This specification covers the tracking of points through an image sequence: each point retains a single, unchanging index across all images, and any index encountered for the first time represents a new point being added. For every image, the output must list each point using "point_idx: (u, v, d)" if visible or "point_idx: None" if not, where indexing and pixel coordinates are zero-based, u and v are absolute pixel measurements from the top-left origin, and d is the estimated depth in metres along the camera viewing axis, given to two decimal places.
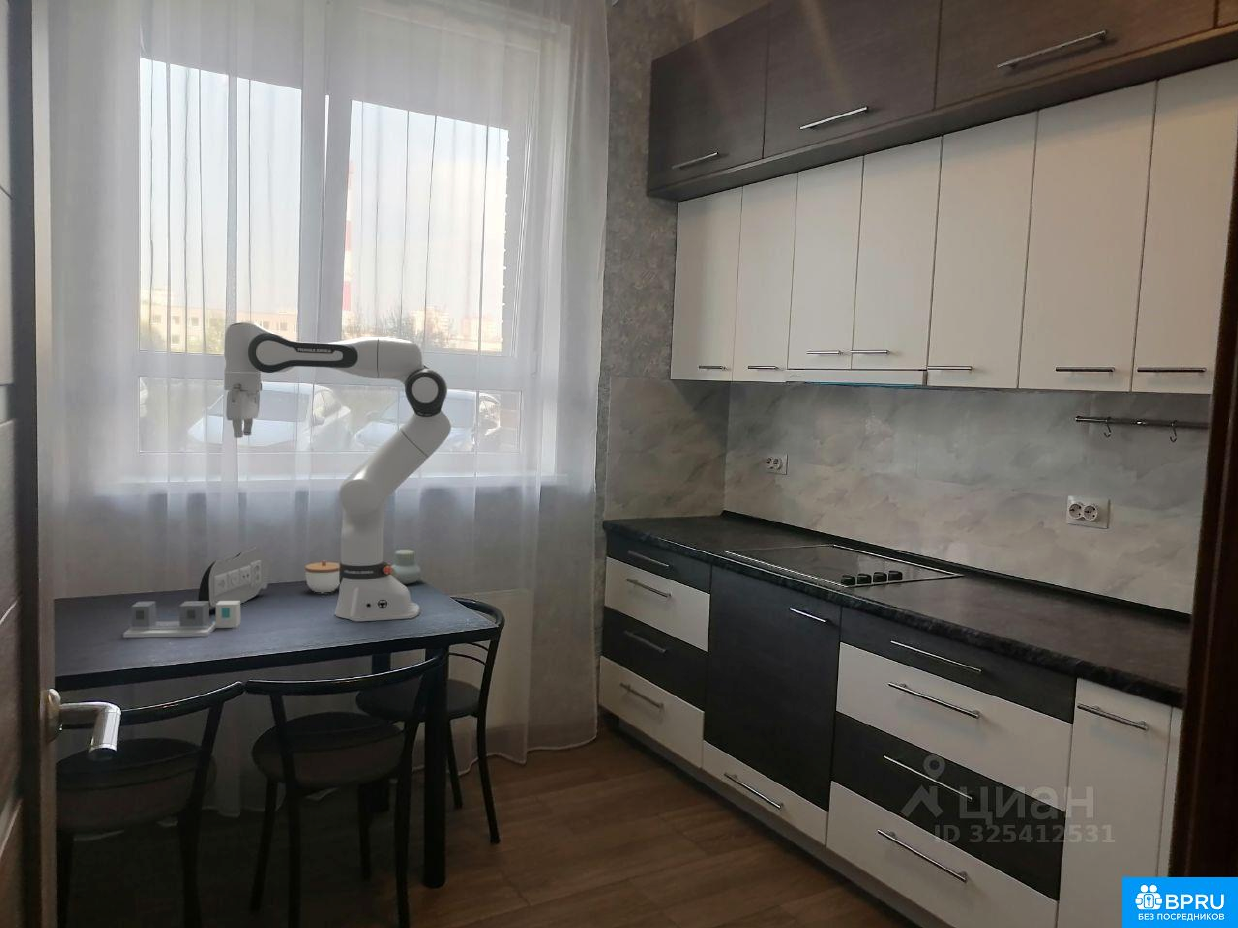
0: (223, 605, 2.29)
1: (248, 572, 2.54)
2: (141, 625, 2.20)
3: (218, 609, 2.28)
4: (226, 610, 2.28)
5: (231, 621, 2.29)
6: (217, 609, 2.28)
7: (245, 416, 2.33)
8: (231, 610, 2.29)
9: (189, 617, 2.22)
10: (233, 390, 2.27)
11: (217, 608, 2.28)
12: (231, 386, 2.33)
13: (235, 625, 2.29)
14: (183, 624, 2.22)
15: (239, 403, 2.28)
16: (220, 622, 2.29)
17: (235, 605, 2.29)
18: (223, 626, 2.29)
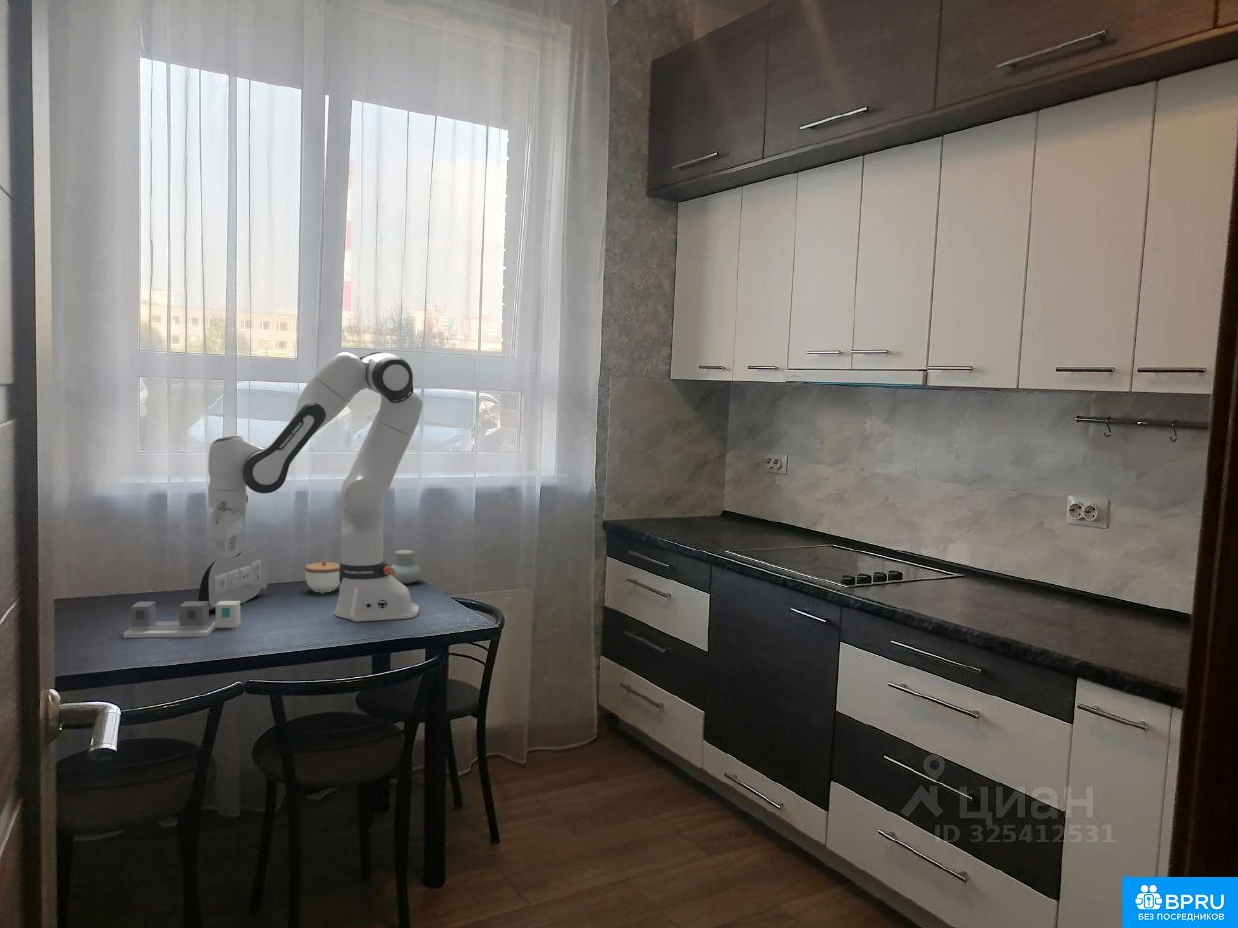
0: (223, 605, 2.29)
1: (248, 572, 2.54)
2: (141, 625, 2.20)
3: (219, 609, 2.28)
4: (226, 610, 2.28)
5: (231, 621, 2.29)
6: (217, 609, 2.28)
7: (229, 535, 2.24)
8: (231, 610, 2.29)
9: (189, 617, 2.22)
10: (217, 511, 2.18)
11: (217, 608, 2.28)
12: (215, 504, 2.24)
13: (235, 625, 2.29)
14: (183, 624, 2.22)
15: (223, 524, 2.19)
16: (220, 622, 2.29)
17: (235, 605, 2.29)
18: (223, 626, 2.29)
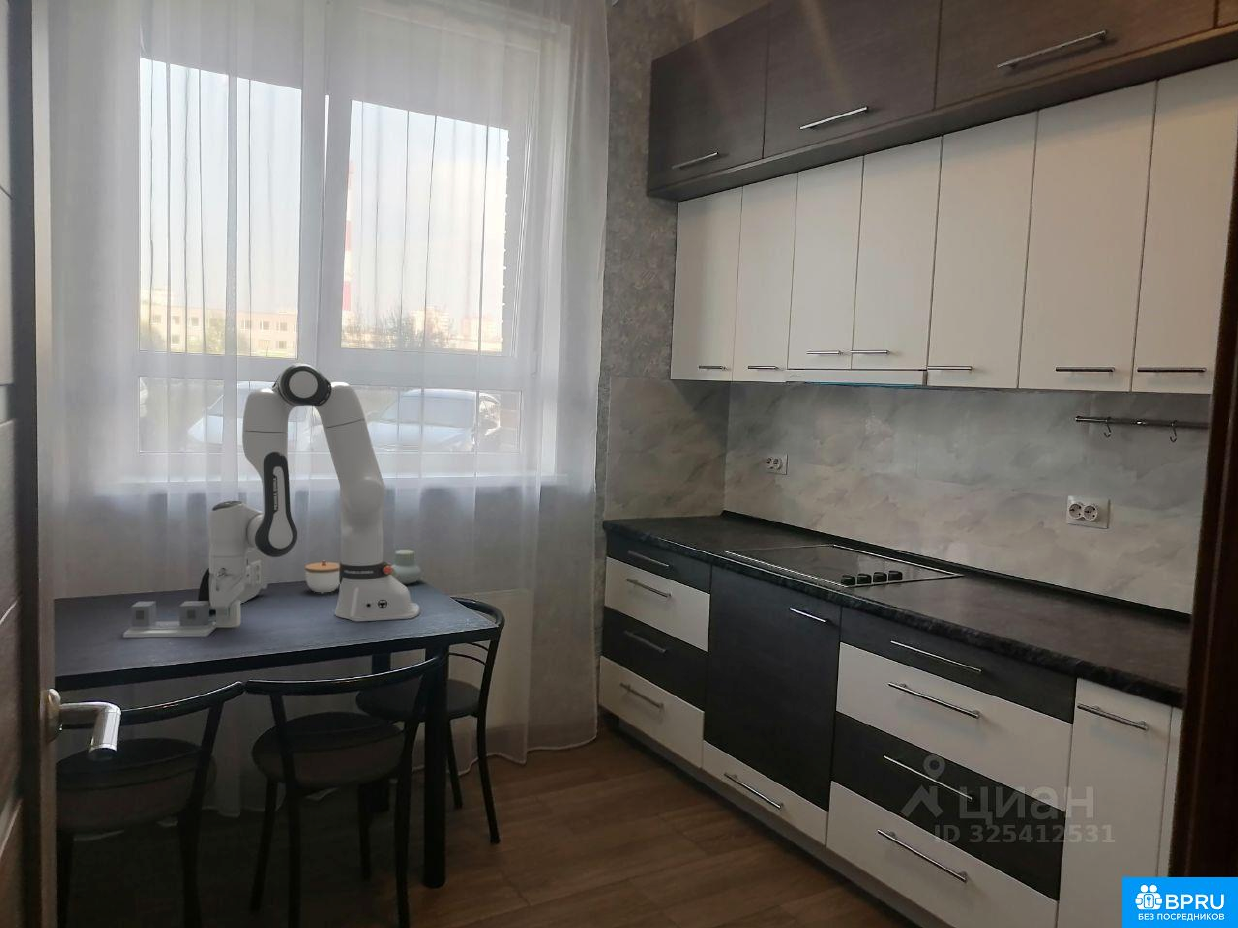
0: None
1: (248, 572, 2.54)
2: (141, 625, 2.20)
3: None
4: None
5: (231, 621, 2.29)
6: (217, 609, 2.28)
7: (230, 601, 2.25)
8: (231, 609, 2.29)
9: (189, 617, 2.22)
10: (217, 579, 2.20)
11: None
12: (215, 570, 2.25)
13: (235, 625, 2.30)
14: (183, 624, 2.22)
15: (223, 592, 2.21)
16: (220, 622, 2.29)
17: (235, 605, 2.29)
18: (223, 626, 2.29)
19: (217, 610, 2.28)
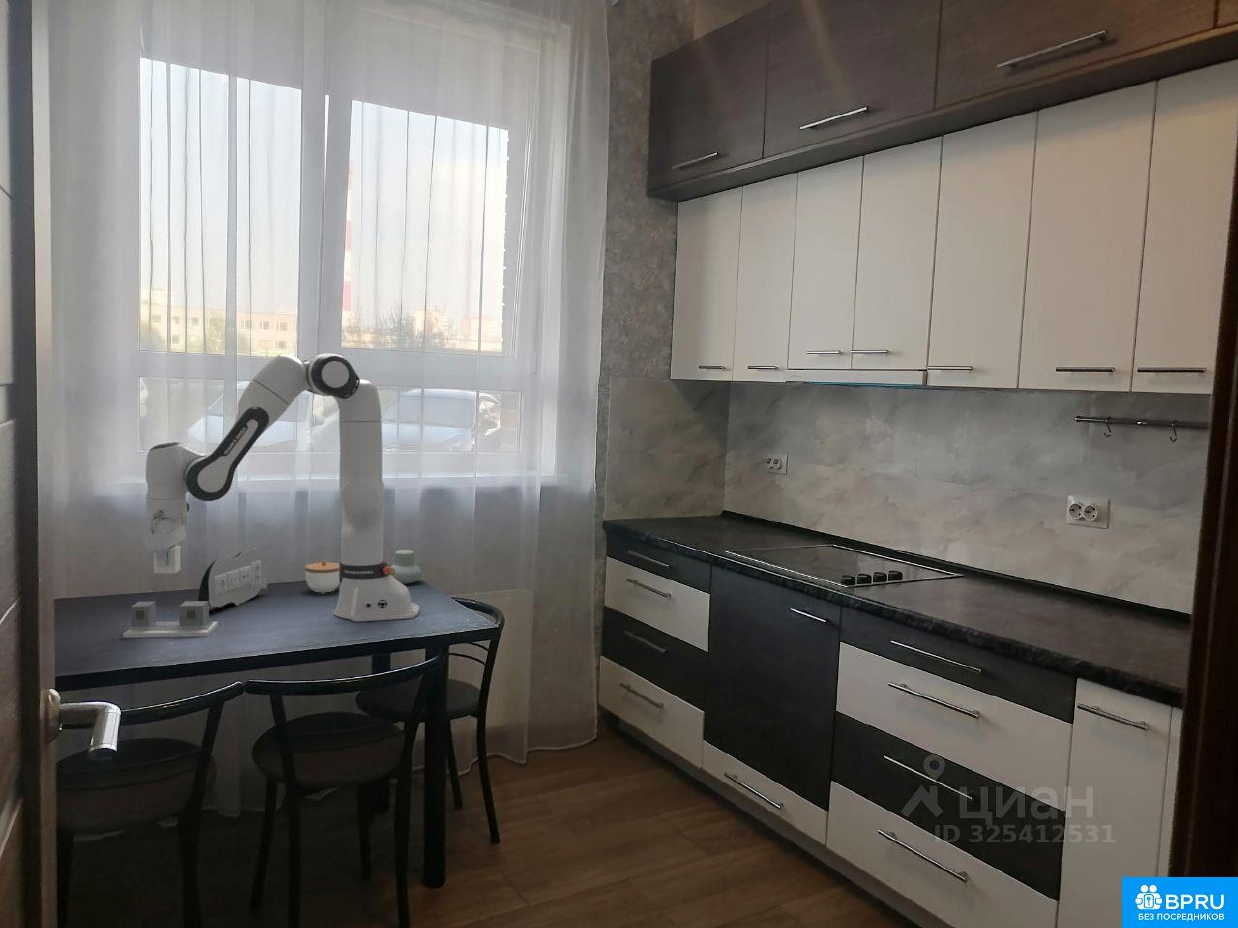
0: None
1: (248, 572, 2.54)
2: (141, 625, 2.20)
3: None
4: None
5: (169, 566, 2.21)
6: (155, 554, 2.20)
7: (167, 545, 2.17)
8: (169, 555, 2.21)
9: (189, 617, 2.22)
10: (152, 521, 2.11)
11: (155, 553, 2.20)
12: (152, 513, 2.17)
13: (174, 570, 2.21)
14: (183, 624, 2.22)
15: (159, 534, 2.12)
16: (158, 567, 2.20)
17: (174, 550, 2.21)
18: (161, 571, 2.21)
19: (155, 555, 2.20)
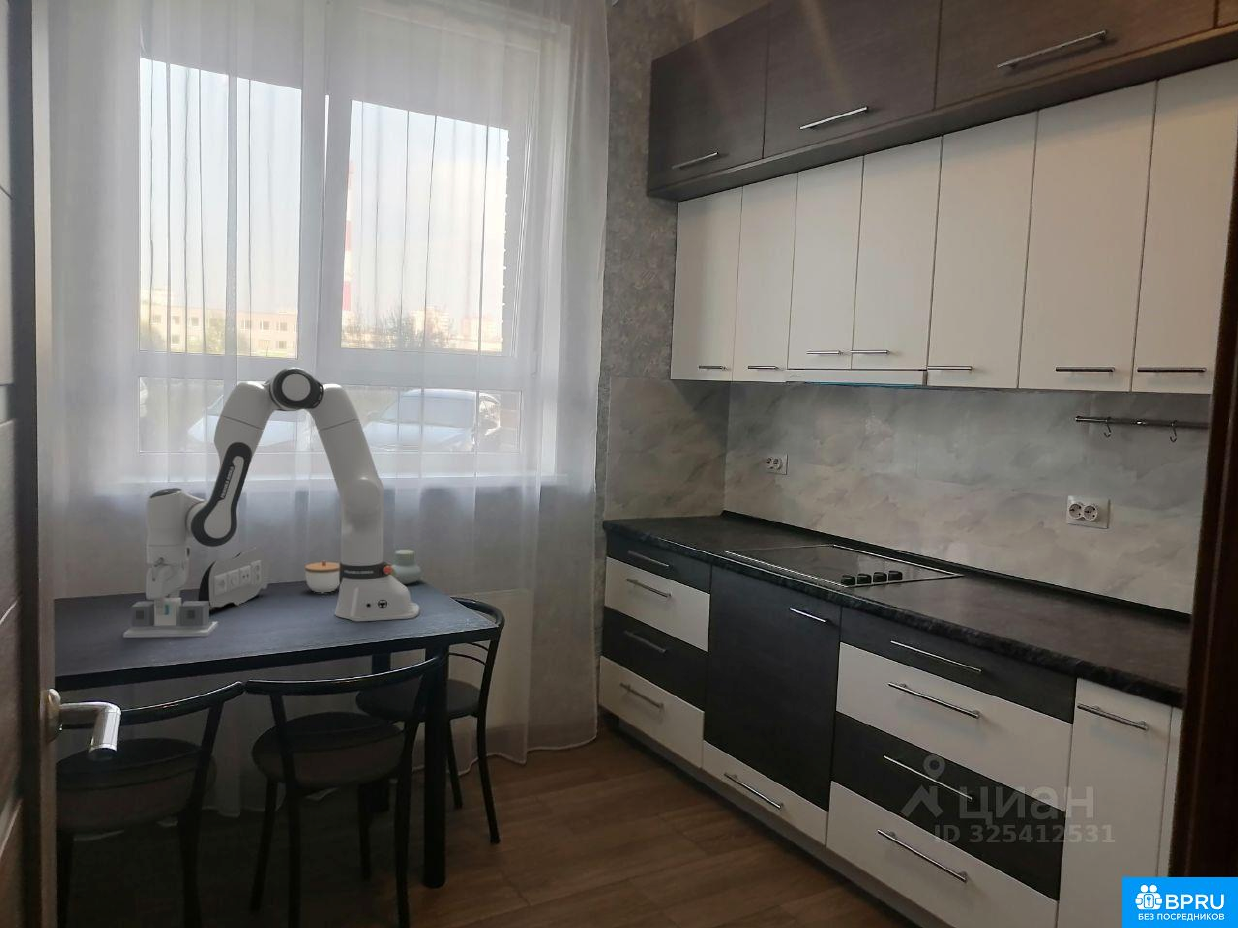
0: None
1: (248, 572, 2.54)
2: (141, 625, 2.20)
3: None
4: None
5: (170, 619, 2.22)
6: None
7: (168, 592, 2.18)
8: (170, 607, 2.22)
9: (189, 617, 2.22)
10: (153, 569, 2.12)
11: None
12: (153, 560, 2.18)
13: (174, 623, 2.22)
14: (183, 624, 2.22)
15: (160, 582, 2.13)
16: (159, 620, 2.22)
17: (174, 602, 2.22)
18: (162, 624, 2.22)
19: (155, 608, 2.21)
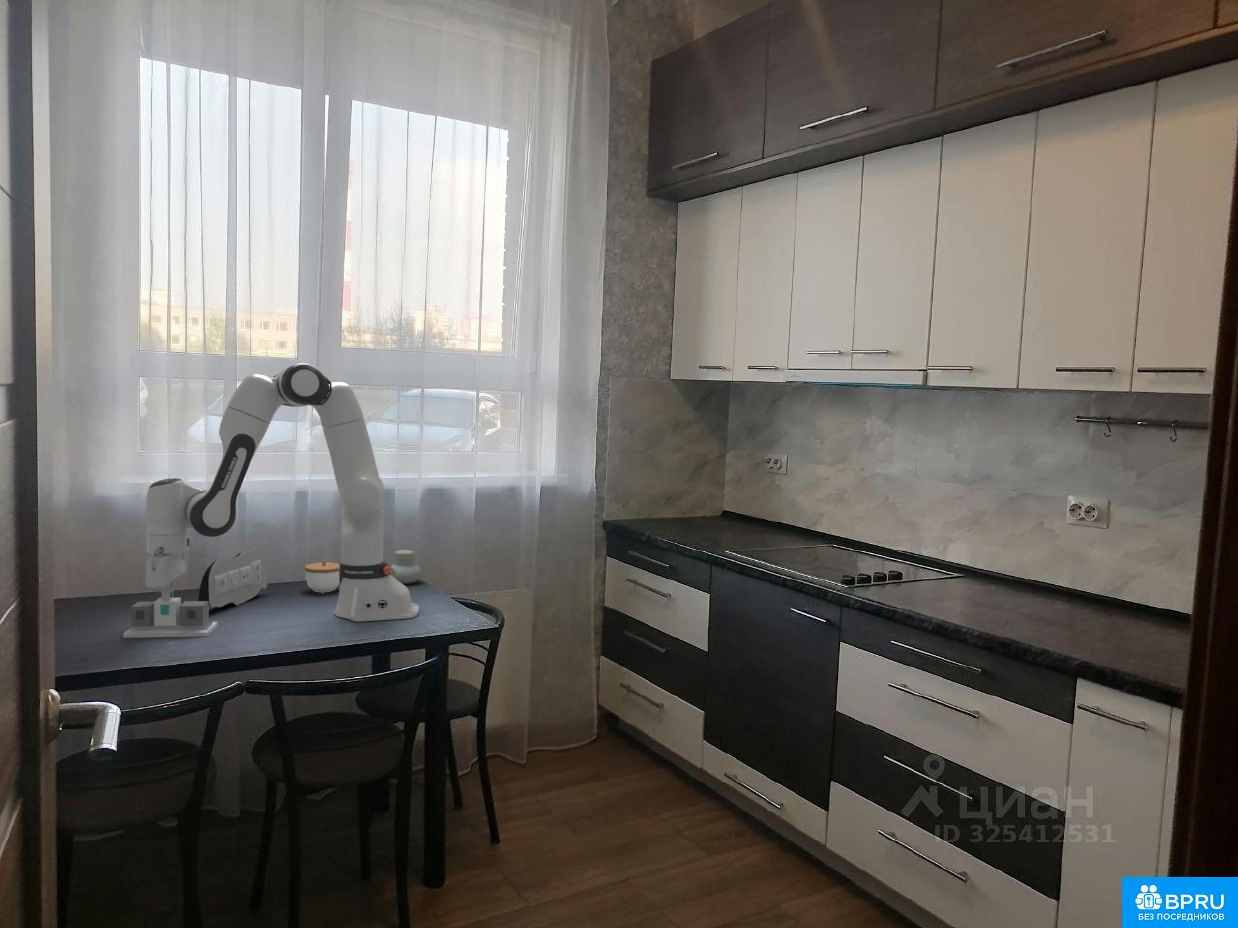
0: (162, 602, 2.21)
1: (248, 572, 2.54)
2: (141, 625, 2.20)
3: (157, 606, 2.21)
4: (165, 607, 2.21)
5: (170, 619, 2.22)
6: (156, 606, 2.21)
7: (168, 582, 2.18)
8: (170, 607, 2.22)
9: (189, 617, 2.22)
10: (153, 558, 2.12)
11: (156, 605, 2.21)
12: (153, 550, 2.18)
13: (174, 623, 2.22)
14: (183, 624, 2.22)
15: (160, 571, 2.13)
16: (159, 620, 2.22)
17: (174, 602, 2.22)
18: (162, 624, 2.22)
19: (155, 608, 2.21)
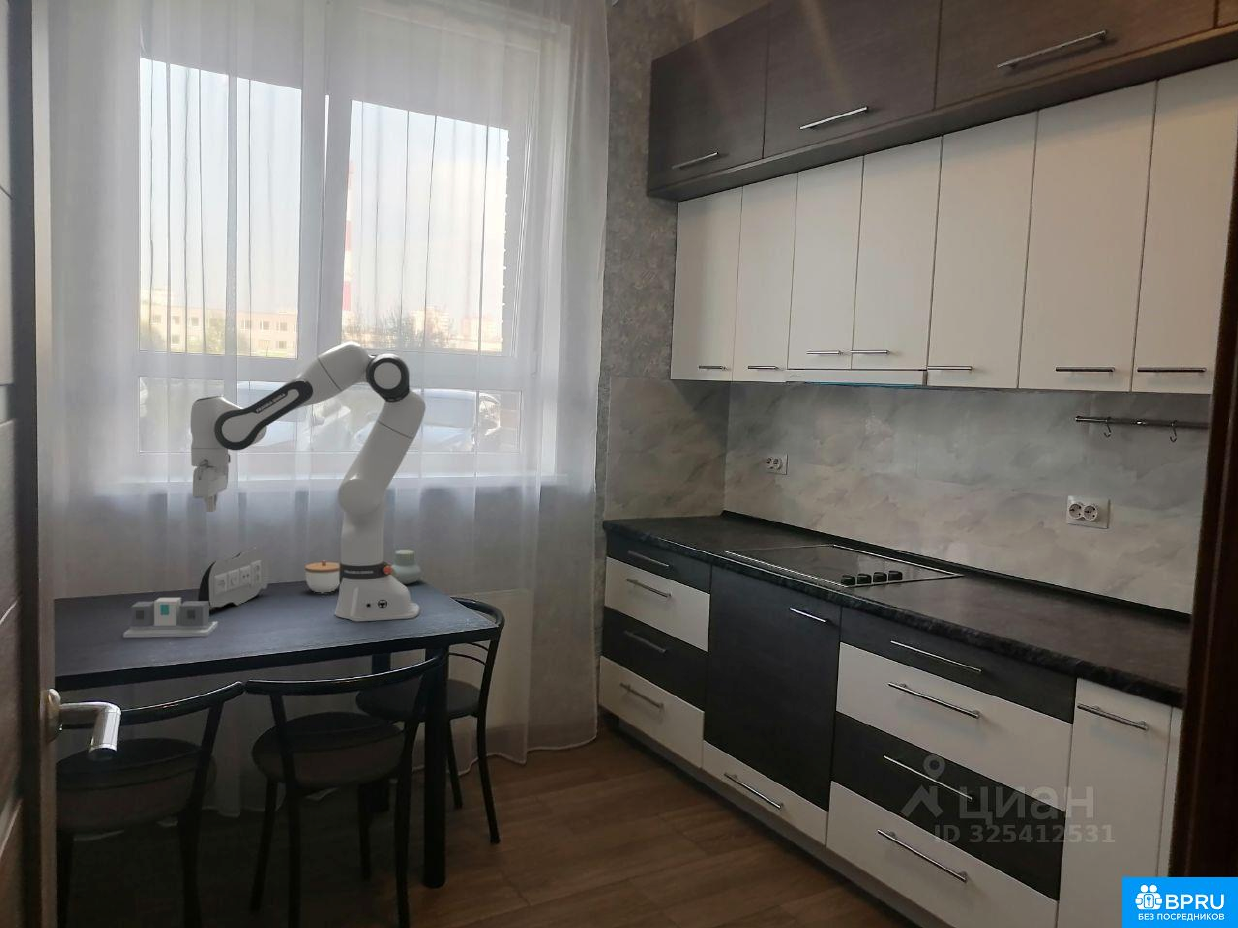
0: (162, 602, 2.21)
1: (248, 572, 2.54)
2: (141, 625, 2.20)
3: (157, 606, 2.21)
4: (165, 607, 2.21)
5: (170, 619, 2.22)
6: (156, 606, 2.21)
7: (212, 492, 2.31)
8: (170, 607, 2.22)
9: (189, 617, 2.22)
10: (199, 468, 2.25)
11: (156, 605, 2.21)
12: (198, 462, 2.30)
13: (174, 623, 2.22)
14: (183, 624, 2.22)
15: (205, 481, 2.26)
16: (159, 620, 2.22)
17: (174, 602, 2.22)
18: (162, 624, 2.22)
19: (155, 608, 2.21)
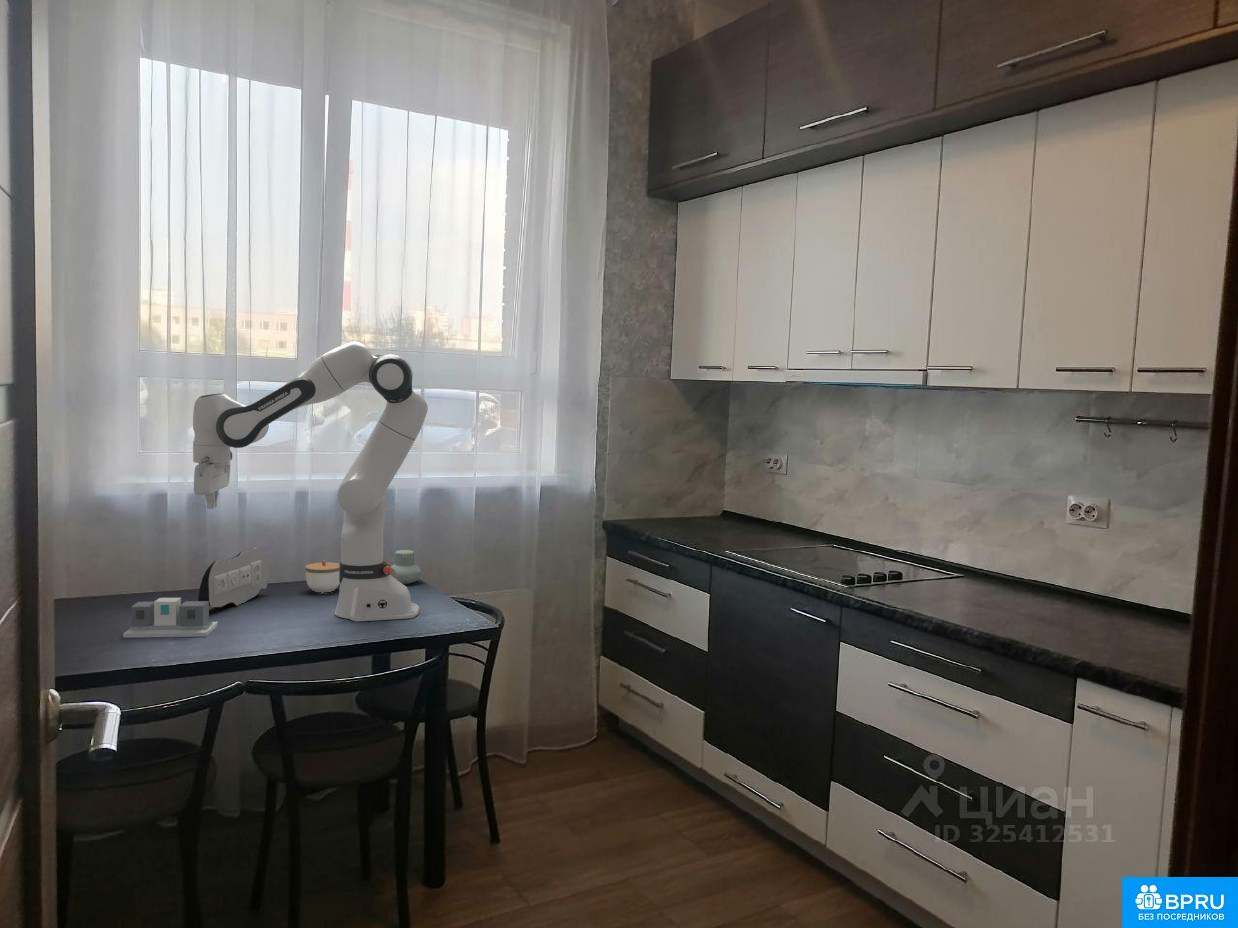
0: (162, 602, 2.21)
1: (248, 572, 2.54)
2: (141, 625, 2.20)
3: (157, 606, 2.21)
4: (165, 607, 2.21)
5: (170, 619, 2.22)
6: (156, 606, 2.21)
7: (213, 489, 2.31)
8: (170, 607, 2.22)
9: (189, 617, 2.22)
10: (200, 465, 2.25)
11: (156, 605, 2.21)
12: (199, 459, 2.31)
13: (174, 623, 2.22)
14: (183, 624, 2.22)
15: (207, 477, 2.26)
16: (159, 620, 2.22)
17: (174, 602, 2.22)
18: (162, 624, 2.22)
19: (155, 608, 2.21)
